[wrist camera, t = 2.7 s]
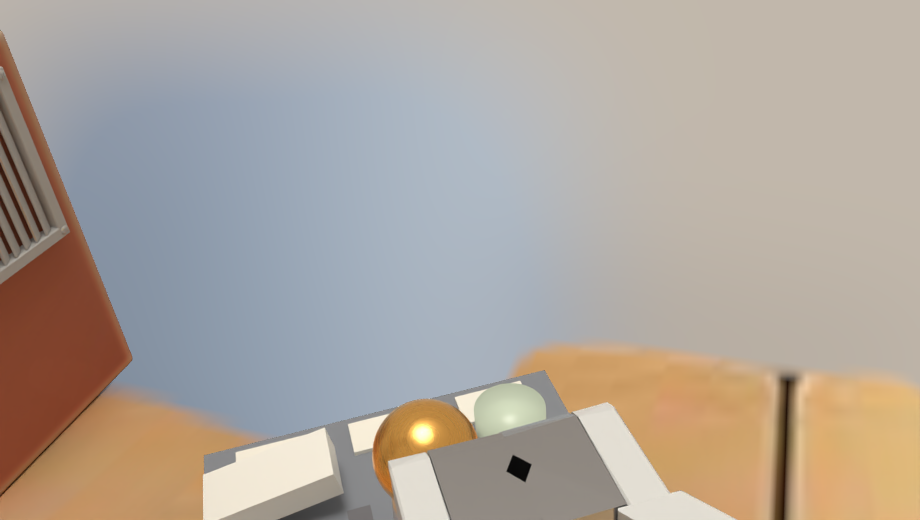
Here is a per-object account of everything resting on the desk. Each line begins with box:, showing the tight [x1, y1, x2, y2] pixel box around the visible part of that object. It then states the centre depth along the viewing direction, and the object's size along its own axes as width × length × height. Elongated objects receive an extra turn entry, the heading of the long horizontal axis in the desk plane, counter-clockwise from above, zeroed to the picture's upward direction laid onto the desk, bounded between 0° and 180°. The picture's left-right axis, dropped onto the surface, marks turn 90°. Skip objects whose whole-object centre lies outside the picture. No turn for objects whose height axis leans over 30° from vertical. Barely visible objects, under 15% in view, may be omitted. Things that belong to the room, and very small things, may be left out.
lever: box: [372, 399, 478, 520], centre depth 24 cm, size 3×3×14 cm
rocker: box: [203, 428, 344, 520], centre depth 32 cm, size 3×5×1 cm, turn 106°
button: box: [474, 383, 546, 438], centre depth 34 cm, size 3×3×2 cm
